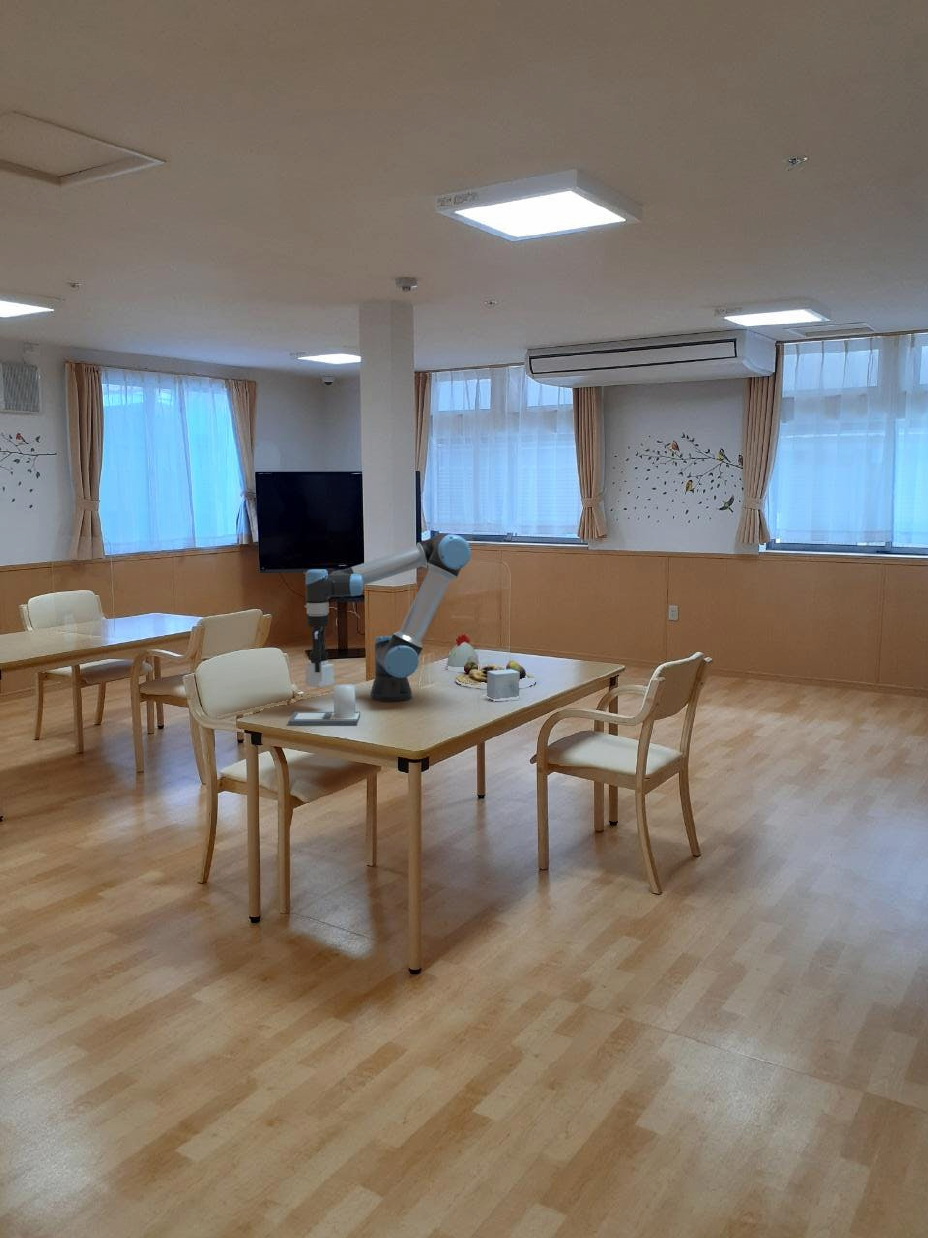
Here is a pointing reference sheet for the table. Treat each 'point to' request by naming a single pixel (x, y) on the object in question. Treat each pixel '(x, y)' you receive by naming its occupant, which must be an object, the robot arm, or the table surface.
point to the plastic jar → (344, 701)
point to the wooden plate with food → (481, 676)
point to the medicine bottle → (326, 672)
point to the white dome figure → (462, 653)
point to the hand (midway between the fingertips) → (320, 678)
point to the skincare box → (503, 683)
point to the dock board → (322, 719)
